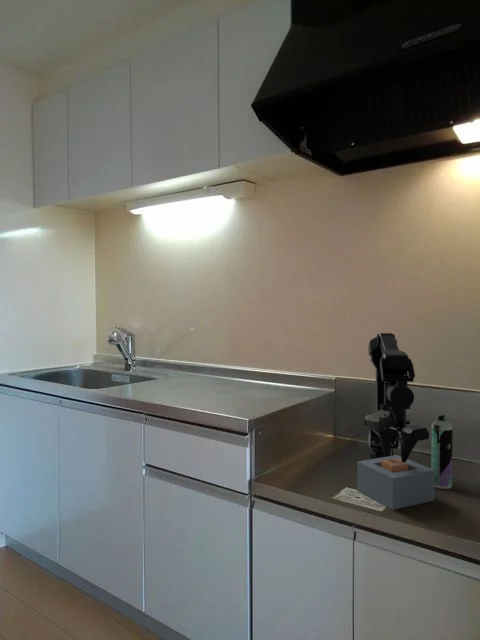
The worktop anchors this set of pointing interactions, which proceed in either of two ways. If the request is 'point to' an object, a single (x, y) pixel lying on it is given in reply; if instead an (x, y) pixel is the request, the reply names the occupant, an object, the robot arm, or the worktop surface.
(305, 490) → the worktop surface
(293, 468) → the worktop surface
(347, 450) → the worktop surface
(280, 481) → the worktop surface
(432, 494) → the box
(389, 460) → the salmon square block
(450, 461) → the spray can
